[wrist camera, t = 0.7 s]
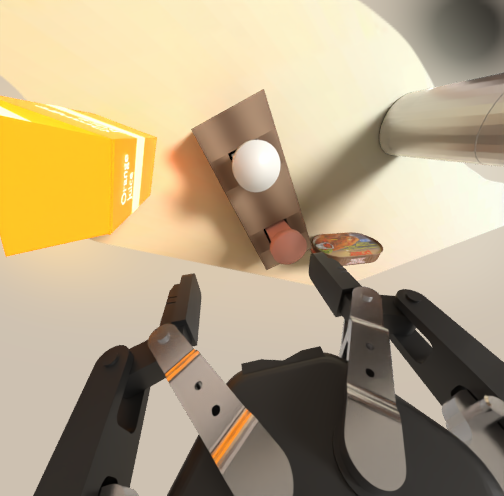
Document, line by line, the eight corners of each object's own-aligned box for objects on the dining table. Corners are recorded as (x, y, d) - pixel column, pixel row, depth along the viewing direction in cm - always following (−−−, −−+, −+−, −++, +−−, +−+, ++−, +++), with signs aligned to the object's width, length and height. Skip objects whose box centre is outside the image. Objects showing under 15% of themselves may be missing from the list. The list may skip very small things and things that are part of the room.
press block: (255, 96, 26) (263, 89, 22) (301, 236, 40) (312, 248, 36) (194, 130, 27) (191, 129, 23) (260, 256, 41) (266, 270, 37)
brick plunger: (286, 211, 32) (301, 227, 27) (294, 236, 35) (310, 254, 30) (257, 226, 32) (267, 244, 27) (268, 249, 35) (279, 269, 30)
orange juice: (157, 137, 26) (68, 139, 10) (151, 195, 30) (78, 269, 14) (92, 112, 24) (-186, 56, 7) (93, 179, 28) (-85, 247, 11)
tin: (364, 231, 43) (394, 250, 36) (360, 243, 45) (388, 263, 38) (305, 234, 40) (325, 255, 33) (303, 247, 42) (321, 269, 35)
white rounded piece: (257, 131, 25) (270, 130, 20) (271, 170, 28) (286, 179, 23) (221, 150, 25) (224, 154, 20) (239, 187, 28) (246, 200, 23)
